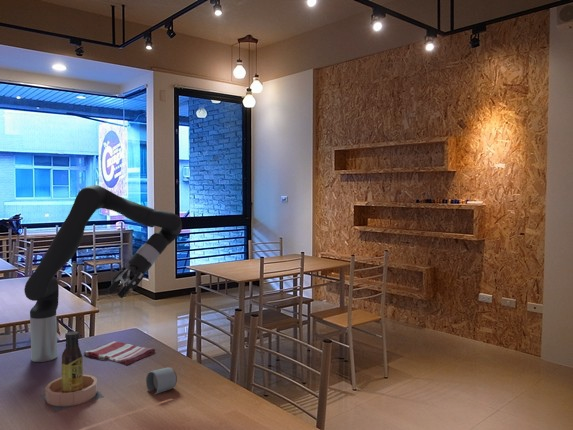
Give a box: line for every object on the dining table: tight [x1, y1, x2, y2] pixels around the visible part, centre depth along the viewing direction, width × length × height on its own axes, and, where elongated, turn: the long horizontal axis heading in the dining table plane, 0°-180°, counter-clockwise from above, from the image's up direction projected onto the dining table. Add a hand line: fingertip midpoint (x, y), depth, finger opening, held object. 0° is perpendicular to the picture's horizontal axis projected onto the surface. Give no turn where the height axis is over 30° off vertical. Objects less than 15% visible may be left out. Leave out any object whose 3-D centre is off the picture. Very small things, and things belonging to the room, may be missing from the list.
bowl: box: [44, 374, 99, 407], centre depth 154 cm, size 15×15×4 cm
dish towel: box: [83, 340, 156, 366], centre depth 194 cm, size 17×23×3 cm
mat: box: [40, 390, 105, 413], centre depth 154 cm, size 15×15×1 cm
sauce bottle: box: [61, 330, 84, 393], centre depth 154 cm, size 7×6×20 cm
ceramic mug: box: [145, 367, 178, 395], centre depth 161 cm, size 11×8×8 cm
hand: (114, 294), depth 167 cm, fingers open, 8 cm apart
